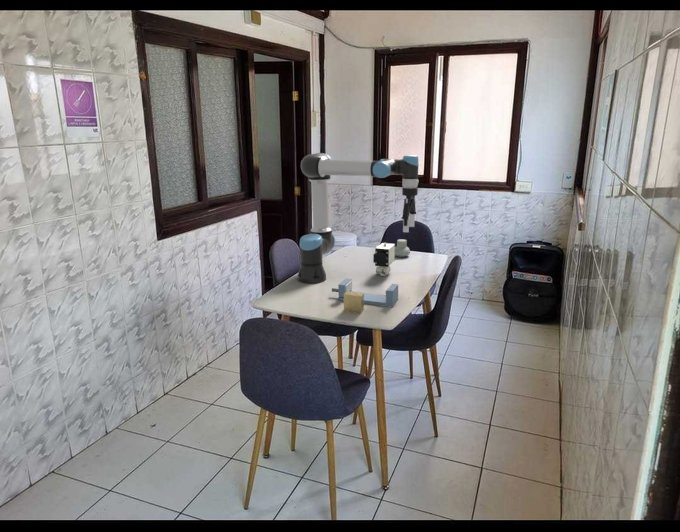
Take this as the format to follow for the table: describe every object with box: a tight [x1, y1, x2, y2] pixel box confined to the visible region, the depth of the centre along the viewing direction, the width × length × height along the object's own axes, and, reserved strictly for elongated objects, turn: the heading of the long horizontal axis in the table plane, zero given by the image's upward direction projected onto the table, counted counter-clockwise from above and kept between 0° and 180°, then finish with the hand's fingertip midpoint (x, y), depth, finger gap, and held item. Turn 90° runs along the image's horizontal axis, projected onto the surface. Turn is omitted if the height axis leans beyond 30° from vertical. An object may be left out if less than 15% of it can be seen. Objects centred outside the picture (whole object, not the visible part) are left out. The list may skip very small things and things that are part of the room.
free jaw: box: [331, 278, 353, 298], centre depth 232 cm, size 9×10×6 cm
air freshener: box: [395, 238, 411, 258], centre depth 302 cm, size 11×8×10 cm
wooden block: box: [343, 291, 365, 314], centre depth 215 cm, size 8×4×8 cm, turn 69°
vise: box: [338, 283, 399, 308], centre depth 228 cm, size 26×10×8 cm, turn 69°
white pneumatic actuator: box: [373, 242, 396, 277], centre depth 264 cm, size 18×8×18 cm, turn 159°
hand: (408, 229), depth 247 cm, fingers open, 13 cm apart
